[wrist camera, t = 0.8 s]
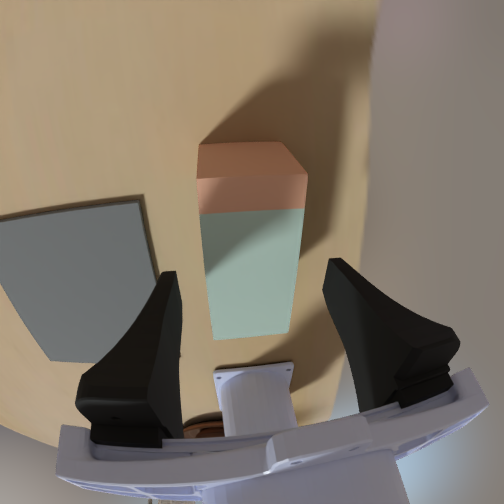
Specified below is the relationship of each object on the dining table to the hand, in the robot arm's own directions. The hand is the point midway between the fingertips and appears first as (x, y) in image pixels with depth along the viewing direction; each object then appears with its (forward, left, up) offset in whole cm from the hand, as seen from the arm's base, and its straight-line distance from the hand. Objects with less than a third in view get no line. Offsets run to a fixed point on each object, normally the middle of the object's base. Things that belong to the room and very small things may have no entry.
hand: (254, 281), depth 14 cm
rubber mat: (-6, +13, -6) cm, 15 cm away
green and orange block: (0, 0, -6) cm, 6 cm away
